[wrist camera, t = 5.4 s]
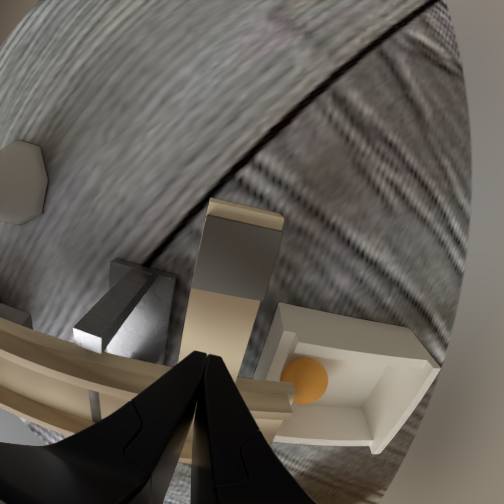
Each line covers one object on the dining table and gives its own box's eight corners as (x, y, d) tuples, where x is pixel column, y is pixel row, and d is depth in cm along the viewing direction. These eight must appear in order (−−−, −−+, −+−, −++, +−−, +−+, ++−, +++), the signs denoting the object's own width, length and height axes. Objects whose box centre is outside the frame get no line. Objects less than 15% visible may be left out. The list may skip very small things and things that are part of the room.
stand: (162, 377, 24) (133, 458, 15) (110, 361, 24) (67, 432, 15) (177, 275, 21) (134, 347, 13) (115, 257, 21) (46, 315, 12)
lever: (259, 421, 20) (272, 486, 14) (-13, 353, 16) (-47, 398, 10) (334, 221, 16) (392, 259, 10) (-28, 152, 11) (-92, 163, 6)
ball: (323, 394, 22) (309, 420, 19) (284, 377, 24) (266, 400, 21) (340, 361, 21) (328, 386, 18) (298, 342, 23) (281, 364, 20)
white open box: (362, 408, 26) (379, 453, 20) (246, 395, 25) (245, 447, 19) (408, 327, 23) (440, 368, 17) (278, 301, 22) (286, 349, 16)
